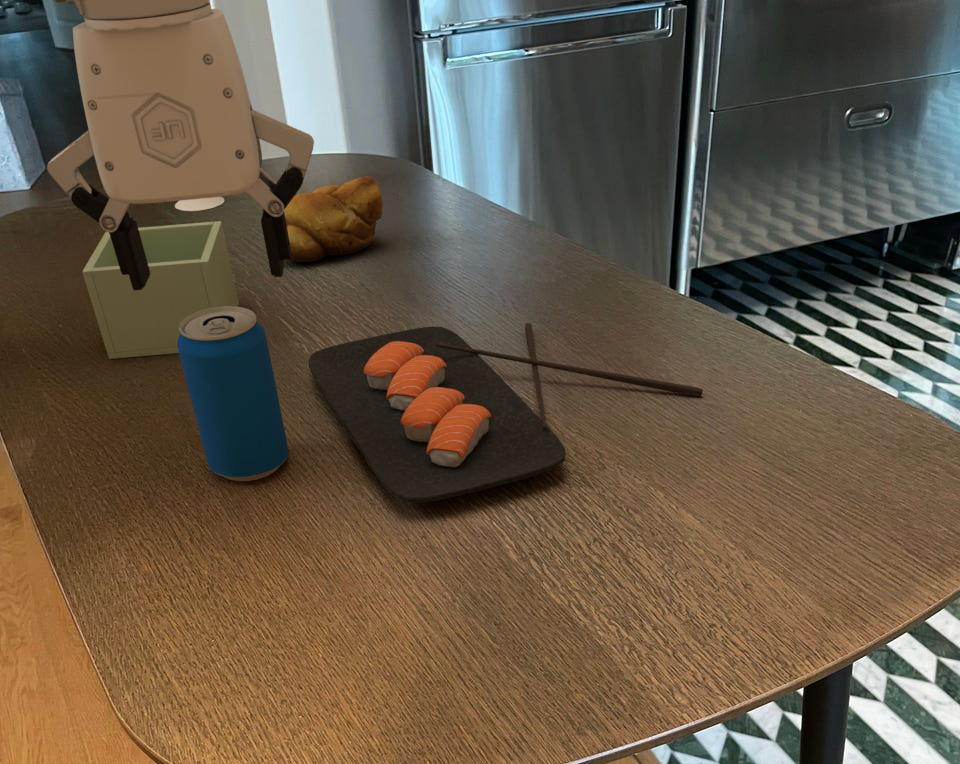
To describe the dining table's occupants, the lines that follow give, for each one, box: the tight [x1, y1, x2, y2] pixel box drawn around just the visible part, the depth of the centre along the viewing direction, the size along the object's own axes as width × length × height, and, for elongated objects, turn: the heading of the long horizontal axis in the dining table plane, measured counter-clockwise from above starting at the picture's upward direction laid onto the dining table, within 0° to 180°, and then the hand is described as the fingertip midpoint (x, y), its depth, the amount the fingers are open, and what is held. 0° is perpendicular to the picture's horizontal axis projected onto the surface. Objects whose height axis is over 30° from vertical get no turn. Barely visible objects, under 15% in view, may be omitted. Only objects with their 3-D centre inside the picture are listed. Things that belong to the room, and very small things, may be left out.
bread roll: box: [284, 176, 384, 262], centre depth 116 cm, size 13×10×8 cm
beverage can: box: [177, 306, 290, 482], centre depth 77 cm, size 6×6×12 cm
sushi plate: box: [308, 322, 704, 504], centre depth 86 cm, size 29×30×4 cm
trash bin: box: [81, 220, 240, 360], centre depth 100 cm, size 12×12×9 cm
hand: (210, 276), depth 71 cm, fingers open, 9 cm apart
